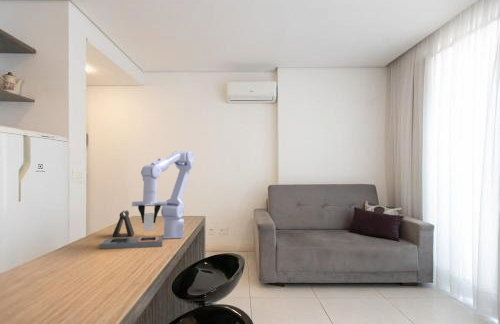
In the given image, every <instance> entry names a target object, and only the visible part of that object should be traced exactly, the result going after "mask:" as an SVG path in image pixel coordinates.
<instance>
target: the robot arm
mask: <svg viewBox="0 0 500 324" xmlns="http://www.w3.org/2000/svg"><path fill="white" fill-rule="evenodd" d="M194 162H195V156H194V153H193V151H192V150H188V151H185V150H184V151H183V150H182V151H181V150H180V151H178V150H177V151H174V152H172V153H171V154H170V155H169V156H167V157H166V158H162V157H160V158H159V157H158V159H157V160H156V161H152V162H151V163H150V164H146V165H144V166H143V167H142V169H141V171H140V174H141V177H142V181H143V187H142V188H143V189H142V190H143V192H142V195H143V196H142V201H132V202H131V207H137V209H138V211H139V212H138V213H139V214H140V217H141V221H142V224H144V214H145V213H146V212H145V211H146V210H145V209H146V207H154V208H153V210H154V212H153V213H154V224H156V221H157V217H158V214H159V211H160V210H161V211H160V213H161V216H162V217H163V218H162V219H164V227H163V228H164V229H163V234H162V237H163V239H183V238H184V234H185V230H184V228H185V227H184V225H185V222H184V221H185V220H184V218H182V217H183V216H184V209H185V204H184V202H183V201H182V199H183V196H184V193H185V189H186V185H187V183H188V180H189V177H190V173H191V169H192V168H193V165H194ZM172 164H175V166H176V169H178V170H179V172H178V174H177V177H176V180H175V183H174V187H173V189H172V192H171V196H170V197H169V199H167V200H165V201H157V200H158V199H157V198H158V196H157V195H158V178H160V177H161V174H162V173H163V172H165V171H167V170H168V169H169V167H170V166H171V165H172Z"/></svg>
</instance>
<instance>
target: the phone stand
mask: <svg viewBox="0 0 500 324" xmlns="http://www.w3.org/2000/svg"><path fill="white" fill-rule="evenodd" d="M124 214H125V215H124ZM129 214H130V213H129V211H128V210H122V211H121V212H119V219H118V221H117V223H116V226H115V228H114V231H113V234H112V236H111V237H112V238H132V237H133V236H134V235H135V231H134V228H133V226H132V222H131V220H130V216H129ZM123 222H124V223H123ZM123 224H124V226H125V229H126V232H125V233H121V229H122V226H123Z"/></svg>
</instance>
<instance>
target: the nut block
mask: <svg viewBox="0 0 500 324" xmlns="http://www.w3.org/2000/svg"><path fill="white" fill-rule="evenodd" d="M154 227H155V223H154V212H145V213H144V223H143V232H146V231H154Z"/></svg>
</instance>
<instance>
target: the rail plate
mask: <svg viewBox="0 0 500 324" xmlns="http://www.w3.org/2000/svg"><path fill="white" fill-rule="evenodd" d="M163 241H164V240H163V236H139V237H112V238H109V237H108V238H105V239H104V240H103V241H102V242H101V243H100V250H108V249H129V248H131V249H133V248H135V249H136V248H152V247H153V248H155V247H157V248H158V247H163Z"/></svg>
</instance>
